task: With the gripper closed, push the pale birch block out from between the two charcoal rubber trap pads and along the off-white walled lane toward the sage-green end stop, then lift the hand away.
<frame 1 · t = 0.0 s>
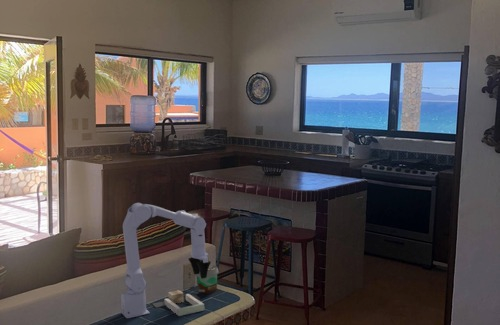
hand: (200, 276, 228), 10 cm above the table, tool pointing down, fingers open, 7 cm apart
birch block: (176, 301, 228), on the table
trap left: (159, 305, 224), on the table
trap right: (192, 298, 231), on the table
lane: (183, 306, 220), on the table
food container: (211, 291, 240), on the table
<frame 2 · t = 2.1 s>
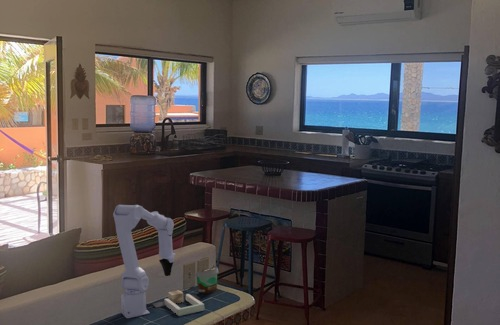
hand: (167, 275, 235), 9 cm above the table, tool pointing down, fingers closed
nothing on the table moved.
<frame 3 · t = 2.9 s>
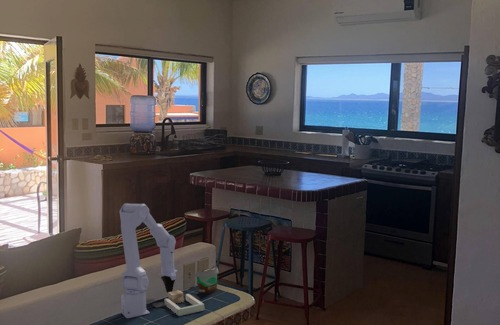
hand: (169, 292, 234), 2 cm above the table, tool pointing down, fingers closed
nothing on the table moved.
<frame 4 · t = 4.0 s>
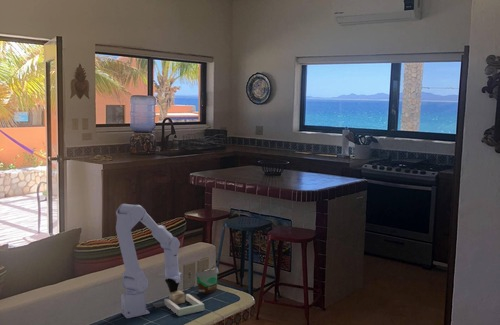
hand: (173, 295, 230), 2 cm above the table, tool pointing down, fingers closed
birch block: (177, 302, 227), on the table, touching gripper
everything else where it was.
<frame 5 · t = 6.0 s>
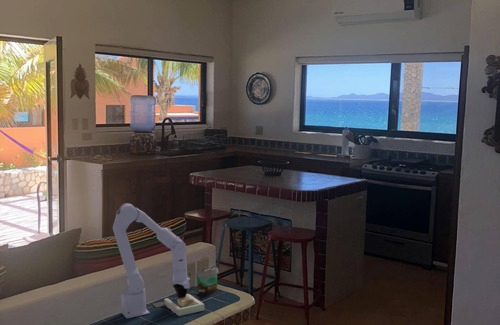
hand: (181, 301, 221), 2 cm above the table, tool pointing down, fingers closed
birch block: (186, 308, 218), on the table, touching gripper
everything else where it was.
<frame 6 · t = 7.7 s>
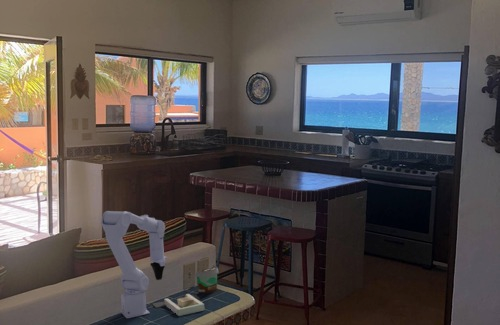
hand: (158, 279, 229), 9 cm above the table, tool pointing down, fingers closed
birch block: (186, 308, 218), on the table
everything else where it was.
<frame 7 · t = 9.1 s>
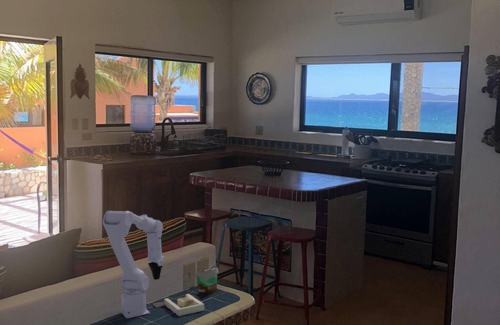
hand: (156, 279, 229), 9 cm above the table, tool pointing down, fingers closed
nothing on the table moved.
at the end: birch block 0.3 cm from the target spot, on the table; birch block tilted 0° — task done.
